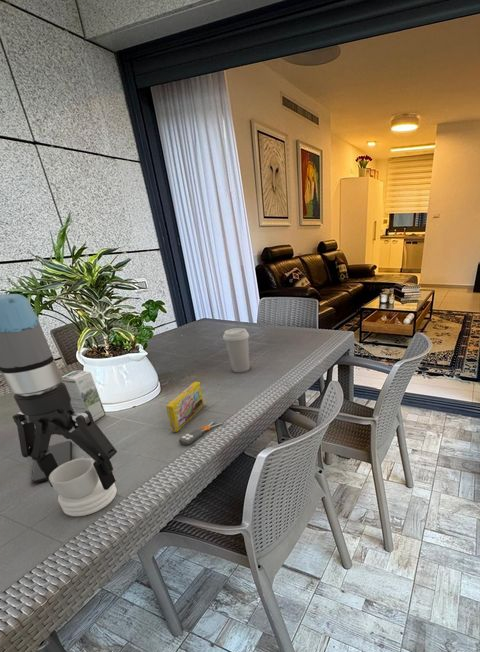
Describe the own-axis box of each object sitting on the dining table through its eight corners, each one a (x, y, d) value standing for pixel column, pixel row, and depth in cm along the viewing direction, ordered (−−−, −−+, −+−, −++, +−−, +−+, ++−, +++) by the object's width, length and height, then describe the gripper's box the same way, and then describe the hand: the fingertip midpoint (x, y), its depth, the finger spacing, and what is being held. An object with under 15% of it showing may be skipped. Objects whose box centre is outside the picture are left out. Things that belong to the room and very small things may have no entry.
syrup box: (90, 413, 109) (73, 369, 102) (107, 414, 108) (90, 370, 101) (75, 422, 104) (56, 377, 97) (92, 424, 103) (74, 378, 96)
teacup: (86, 505, 68) (75, 484, 65) (49, 503, 69) (38, 482, 66) (117, 472, 77) (109, 452, 74) (84, 471, 77) (75, 451, 75)
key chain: (188, 446, 91) (186, 441, 90) (178, 442, 93) (177, 438, 92) (224, 423, 100) (223, 419, 100) (214, 420, 102) (213, 416, 101)
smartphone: (37, 452, 91) (32, 485, 79) (35, 449, 91) (30, 482, 79) (72, 442, 95) (73, 472, 83) (71, 439, 94) (71, 469, 82)
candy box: (178, 432, 97) (171, 406, 93) (171, 432, 97) (164, 406, 93) (205, 405, 111) (200, 381, 107) (198, 404, 111) (193, 381, 107)
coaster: (54, 521, 70) (46, 508, 68) (76, 487, 78) (70, 475, 76) (107, 513, 71) (101, 500, 69) (123, 481, 79) (119, 469, 78)
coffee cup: (231, 375, 131) (224, 336, 124) (226, 367, 139) (219, 329, 132) (256, 370, 134) (251, 332, 127) (250, 362, 142) (245, 326, 135)
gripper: (113, 379, 64) (146, 474, 74) (-2, 377, 66) (46, 470, 77) (85, 398, 57) (126, 499, 68) (-42, 395, 60) (17, 493, 70)
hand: (83, 484), depth 72 cm, fingers open, 11 cm apart
